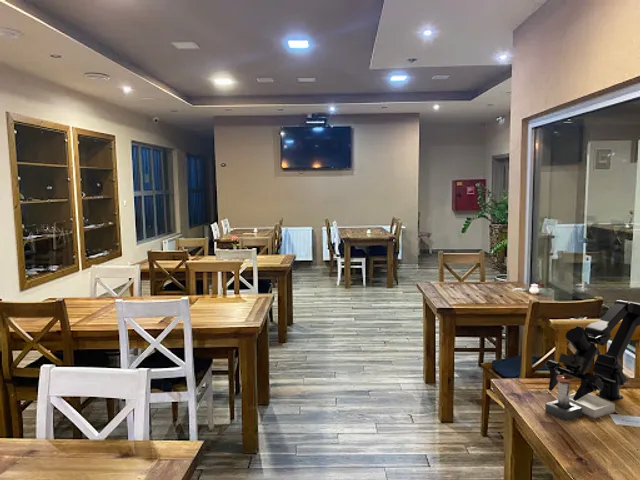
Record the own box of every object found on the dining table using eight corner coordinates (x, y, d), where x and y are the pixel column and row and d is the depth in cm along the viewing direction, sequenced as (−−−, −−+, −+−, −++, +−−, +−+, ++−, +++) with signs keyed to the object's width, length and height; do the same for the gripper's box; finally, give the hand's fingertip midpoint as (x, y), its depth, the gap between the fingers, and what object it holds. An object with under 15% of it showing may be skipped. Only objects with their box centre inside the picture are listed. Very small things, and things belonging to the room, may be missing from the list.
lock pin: (562, 409, 166) (563, 374, 165) (574, 415, 162) (574, 378, 161) (553, 412, 164) (553, 376, 163) (564, 418, 160) (565, 381, 159)
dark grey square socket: (561, 406, 168) (562, 398, 168) (582, 416, 161) (582, 407, 161) (545, 411, 165) (545, 403, 165) (565, 421, 158) (565, 412, 158)
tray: (583, 398, 174) (583, 390, 174) (614, 412, 163) (614, 403, 163) (563, 404, 170) (563, 396, 170) (594, 418, 159) (594, 410, 159)
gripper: (548, 337, 171) (527, 373, 167) (599, 352, 154) (576, 392, 150) (562, 354, 175) (542, 390, 171) (613, 371, 159) (591, 410, 155)
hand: (561, 395), depth 162 cm, fingers open, 9 cm apart
